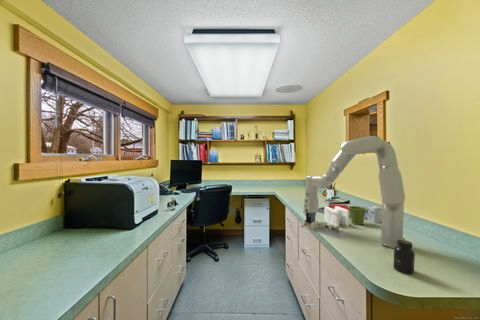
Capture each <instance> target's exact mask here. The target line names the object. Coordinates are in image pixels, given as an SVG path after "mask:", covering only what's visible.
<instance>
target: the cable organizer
mask: <svg viewBox="0 0 480 320" xmlns="http://www.w3.org/2000/svg"><path fill="white" fill-rule="evenodd" d="M324 207H325V208H324V213H323V219H324V220H323V221H324V222H327V224H329V225H331V224H333V225H334V227H336V226H338V227H339V228H340V225H342V226H344V227H349V226H350V218H349V216H350V213H349V211H348V210H347V209H344V208H341V207H339V206H335V209H332V208H330V207H327V206H324Z"/></svg>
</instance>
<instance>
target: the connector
mask: <svg viewBox="0 0 480 320" xmlns="http://www.w3.org/2000/svg"><path fill="white" fill-rule="evenodd" d="M308 214H309V213H308ZM310 217H311V223H308V222H306V223H308V224H312V222H316V216H315V213H314V212H312V213H310Z"/></svg>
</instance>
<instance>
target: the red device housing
mask: <svg viewBox="0 0 480 320" xmlns="http://www.w3.org/2000/svg"><path fill="white" fill-rule="evenodd" d="M328 206H329V207H330V208H332V209H335V206H339V207H341V208H344V209H347V210H348V211H349V208H348V207H349V205H346V204H335V203H330V204H328ZM349 213H350V211H349Z"/></svg>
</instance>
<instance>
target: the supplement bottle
mask: <svg viewBox="0 0 480 320" xmlns="http://www.w3.org/2000/svg"><path fill="white" fill-rule="evenodd" d="M412 244H413V243H412V242H411V241H409V240H406V239H405V240H398V241H397V245H398V246H395V247H394V248H393V262H392V263H393V264H392V266H393V268H394V270H395V271H397V272H399V273H402V274H404V275H413V274H414V273H415V264H416V263H415V261H416V260H415V259H416V252H415V251H414V249H413V247H412Z"/></svg>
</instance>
